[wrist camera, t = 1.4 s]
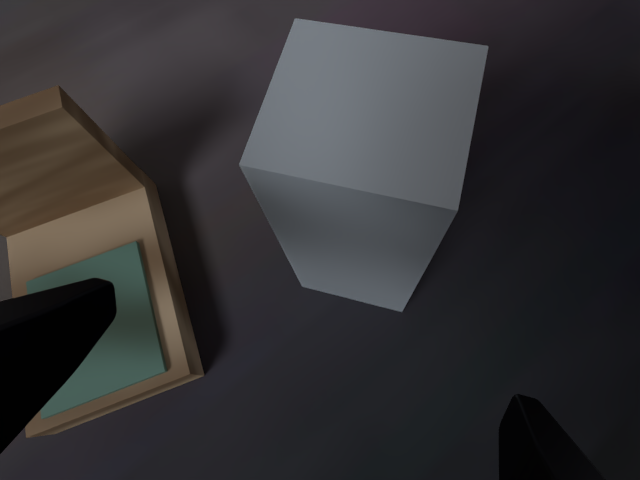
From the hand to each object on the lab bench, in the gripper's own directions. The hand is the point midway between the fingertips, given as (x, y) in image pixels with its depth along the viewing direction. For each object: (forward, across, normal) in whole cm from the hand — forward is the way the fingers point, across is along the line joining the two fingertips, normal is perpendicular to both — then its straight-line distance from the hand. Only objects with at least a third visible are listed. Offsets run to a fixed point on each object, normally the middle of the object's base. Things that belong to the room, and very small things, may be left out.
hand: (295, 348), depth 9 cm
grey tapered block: (+14, 0, +5) cm, 14 cm away
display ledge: (+10, +13, +9) cm, 18 cm away
